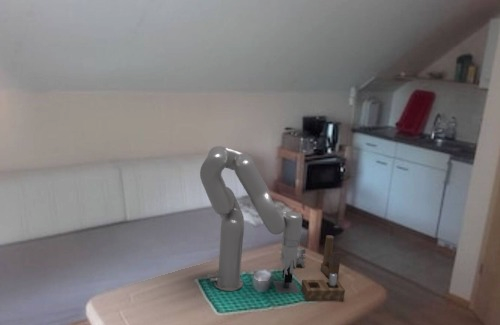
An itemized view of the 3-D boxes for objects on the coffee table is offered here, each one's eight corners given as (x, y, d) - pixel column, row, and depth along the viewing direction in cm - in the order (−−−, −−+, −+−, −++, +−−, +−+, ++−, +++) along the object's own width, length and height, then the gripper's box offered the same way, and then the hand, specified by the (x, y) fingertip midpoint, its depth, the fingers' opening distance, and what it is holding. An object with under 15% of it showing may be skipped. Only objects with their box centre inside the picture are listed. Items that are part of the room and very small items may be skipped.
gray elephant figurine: (290, 269, 210) (292, 255, 208) (283, 257, 221) (285, 243, 219) (308, 269, 212) (310, 255, 210) (300, 257, 223) (302, 243, 221)
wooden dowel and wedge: (330, 281, 202) (335, 244, 197) (320, 270, 212) (324, 234, 207) (338, 280, 203) (342, 244, 199) (327, 269, 213) (331, 234, 209)
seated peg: (328, 297, 187) (331, 276, 185) (326, 293, 190) (329, 272, 188) (335, 297, 188) (338, 276, 186) (333, 293, 191) (335, 272, 188)
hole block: (306, 301, 183) (307, 290, 182) (300, 290, 192) (302, 279, 190) (343, 301, 185) (344, 290, 184) (336, 290, 194) (337, 279, 193)
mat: (277, 293, 187) (277, 292, 187) (272, 281, 197) (272, 280, 197) (300, 293, 189) (300, 292, 189) (294, 281, 199) (294, 280, 199)
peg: (283, 288, 191) (285, 267, 189) (282, 284, 194) (284, 263, 192) (290, 288, 192) (292, 267, 189) (288, 284, 195) (291, 263, 192)
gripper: (278, 233, 195) (274, 271, 200) (286, 249, 180) (282, 290, 184) (295, 233, 196) (290, 271, 201) (304, 249, 181) (300, 290, 185)
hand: (286, 279), depth 192 cm, fingers closed on peg, 3 cm apart
